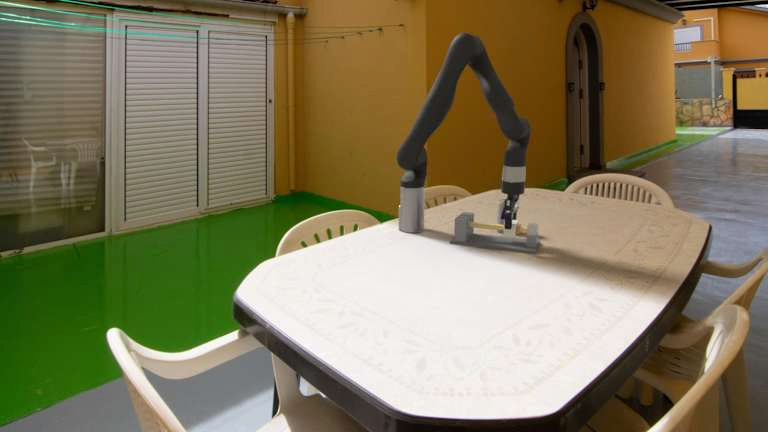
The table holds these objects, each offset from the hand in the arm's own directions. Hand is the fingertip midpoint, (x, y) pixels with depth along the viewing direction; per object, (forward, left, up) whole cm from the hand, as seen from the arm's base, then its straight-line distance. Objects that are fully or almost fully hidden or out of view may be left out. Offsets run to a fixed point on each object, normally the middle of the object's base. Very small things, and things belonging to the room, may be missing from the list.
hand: (510, 225), depth 156 cm
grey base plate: (-5, 0, -7) cm, 9 cm away
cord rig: (-5, 0, -6) cm, 8 cm away
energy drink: (-5, +16, -7) cm, 18 cm away
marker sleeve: (0, 0, -4) cm, 4 cm away
